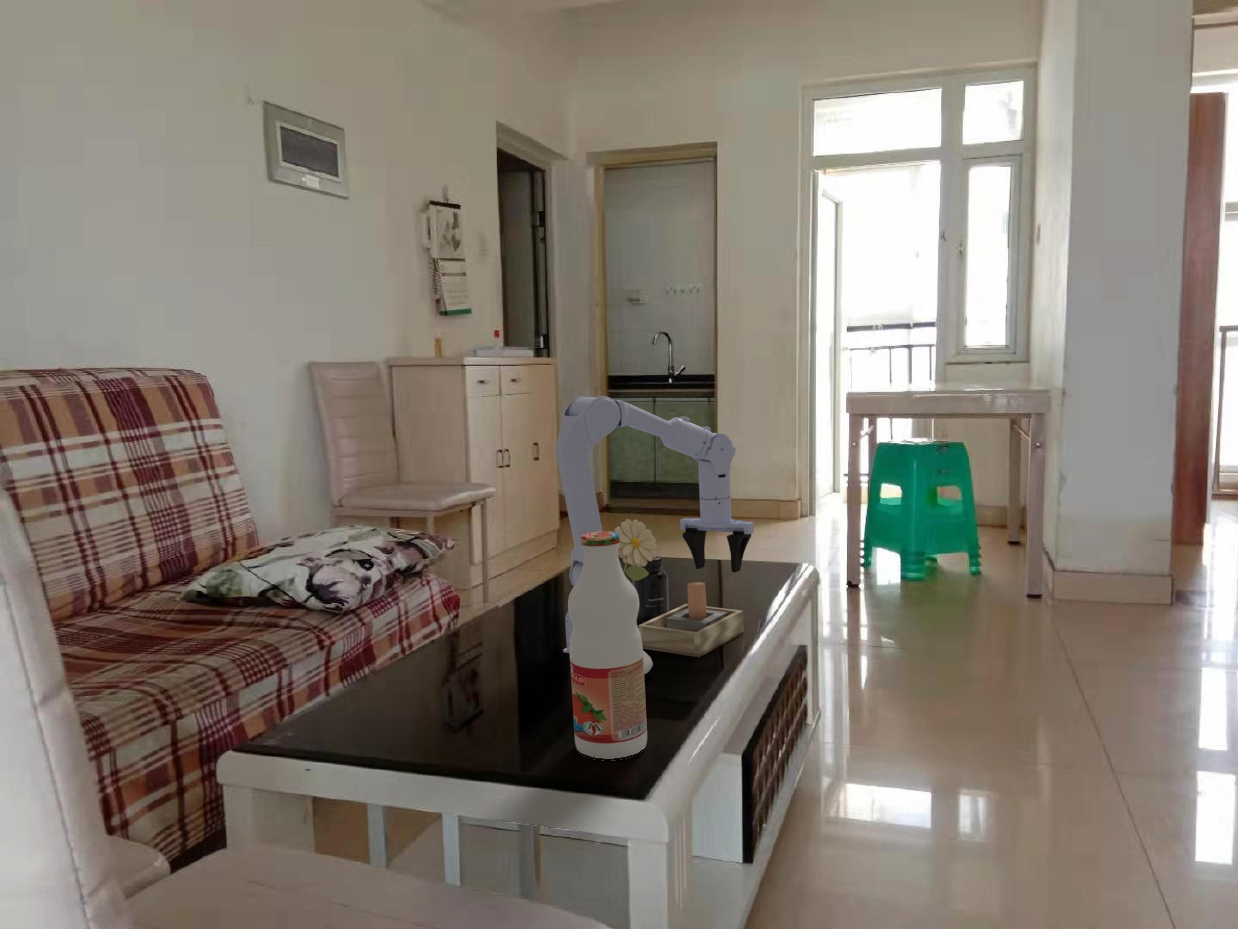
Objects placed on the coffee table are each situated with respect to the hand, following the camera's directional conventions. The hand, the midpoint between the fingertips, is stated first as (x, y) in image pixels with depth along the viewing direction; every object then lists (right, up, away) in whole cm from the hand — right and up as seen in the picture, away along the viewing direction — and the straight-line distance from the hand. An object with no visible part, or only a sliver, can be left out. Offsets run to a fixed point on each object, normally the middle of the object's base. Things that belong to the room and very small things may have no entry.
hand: (718, 569), depth 173 cm
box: (-5, -12, -8) cm, 15 cm away
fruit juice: (-19, -17, -53) cm, 59 cm away
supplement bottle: (-12, -11, +8) cm, 18 cm away
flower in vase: (-18, -14, -25) cm, 34 cm away
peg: (-4, -11, -6) cm, 13 cm away
